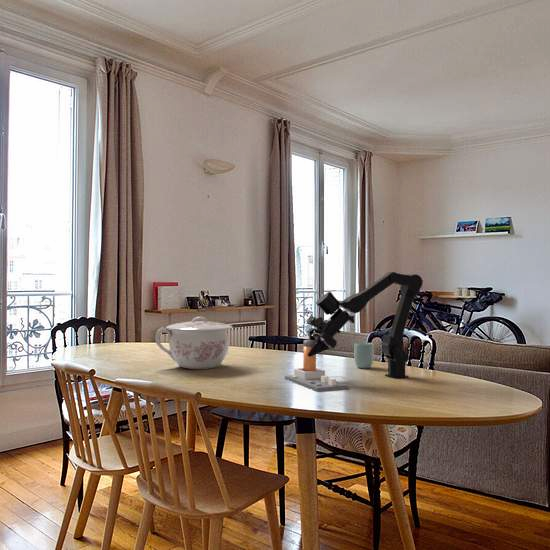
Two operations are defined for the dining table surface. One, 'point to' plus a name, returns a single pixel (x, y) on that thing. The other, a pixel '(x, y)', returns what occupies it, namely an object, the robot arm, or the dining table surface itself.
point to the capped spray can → (308, 362)
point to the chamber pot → (196, 343)
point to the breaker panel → (315, 380)
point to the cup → (363, 354)
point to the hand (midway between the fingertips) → (305, 354)
